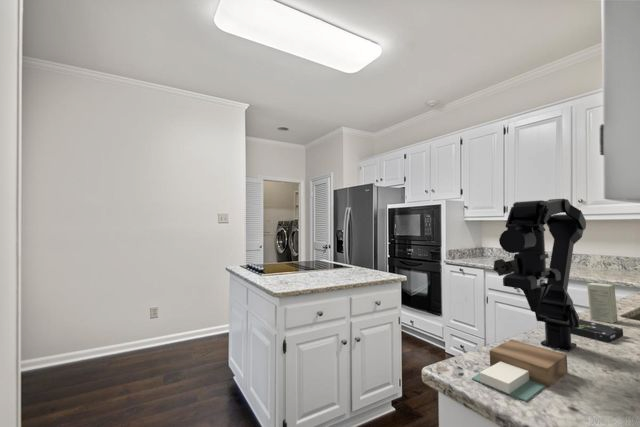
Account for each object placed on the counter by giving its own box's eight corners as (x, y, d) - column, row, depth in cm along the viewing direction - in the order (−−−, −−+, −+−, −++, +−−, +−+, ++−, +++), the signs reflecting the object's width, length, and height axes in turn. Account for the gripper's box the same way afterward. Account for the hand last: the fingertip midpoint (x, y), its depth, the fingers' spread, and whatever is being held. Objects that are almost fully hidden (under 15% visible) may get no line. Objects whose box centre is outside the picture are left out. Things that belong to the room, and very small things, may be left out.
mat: (492, 367, 75) (492, 366, 75) (545, 386, 66) (545, 385, 66) (471, 379, 70) (471, 377, 70) (526, 401, 61) (526, 400, 61)
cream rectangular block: (501, 369, 73) (500, 361, 73) (529, 380, 68) (528, 370, 68) (480, 381, 68) (479, 372, 68) (509, 393, 63) (508, 383, 63)
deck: (511, 354, 81) (511, 339, 81) (567, 372, 71) (566, 354, 72) (490, 366, 75) (489, 350, 75) (548, 387, 65) (547, 368, 65)
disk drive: (623, 338, 92) (564, 323, 105) (623, 328, 92) (564, 315, 105) (609, 345, 87) (549, 329, 100) (609, 335, 87) (548, 321, 100)
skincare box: (618, 321, 104) (615, 284, 104) (613, 323, 102) (611, 286, 102) (593, 316, 110) (591, 281, 110) (588, 318, 107) (586, 283, 108)
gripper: (514, 246, 91) (517, 299, 91) (480, 251, 81) (483, 311, 80) (559, 248, 82) (563, 307, 81) (528, 253, 71) (531, 322, 71)
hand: (534, 311), depth 79 cm, fingers closed
